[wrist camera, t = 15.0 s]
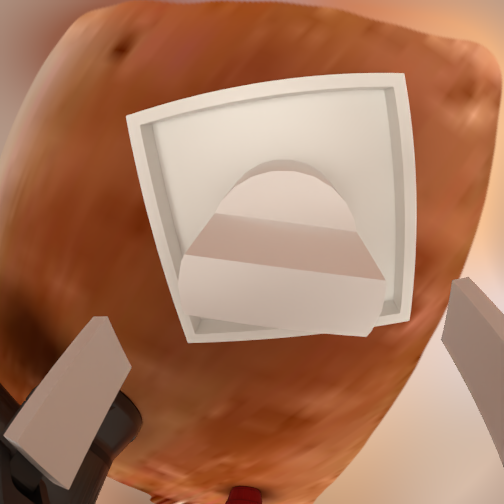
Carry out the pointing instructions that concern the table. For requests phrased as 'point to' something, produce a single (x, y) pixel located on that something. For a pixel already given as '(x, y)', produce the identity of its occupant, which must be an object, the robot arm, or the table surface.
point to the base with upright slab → (283, 257)
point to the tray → (283, 148)
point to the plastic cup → (244, 496)
